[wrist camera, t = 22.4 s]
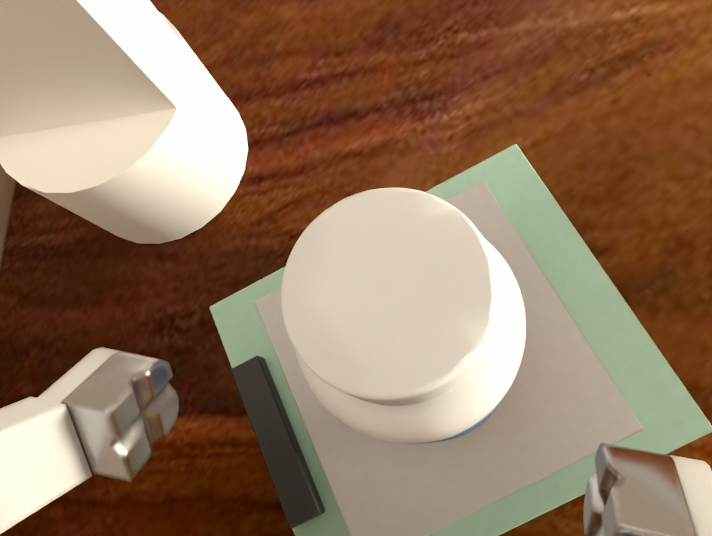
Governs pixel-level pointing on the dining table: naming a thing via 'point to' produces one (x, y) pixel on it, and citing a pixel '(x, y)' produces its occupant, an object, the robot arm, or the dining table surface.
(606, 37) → the dining table surface
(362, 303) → the pill bottle
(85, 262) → the dining table surface
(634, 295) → the dining table surface
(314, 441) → the scale
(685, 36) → the dining table surface
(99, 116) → the base with upright slab
